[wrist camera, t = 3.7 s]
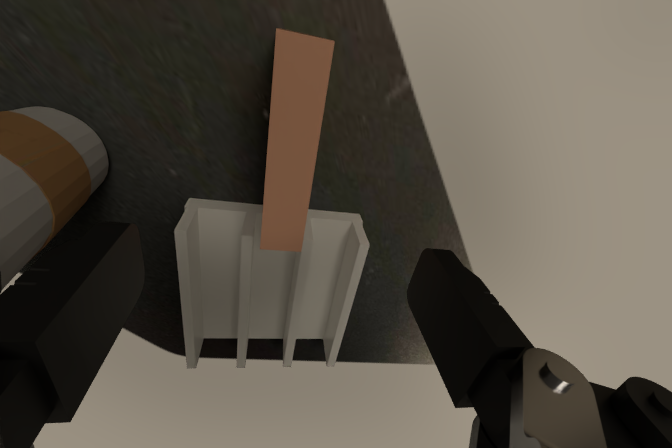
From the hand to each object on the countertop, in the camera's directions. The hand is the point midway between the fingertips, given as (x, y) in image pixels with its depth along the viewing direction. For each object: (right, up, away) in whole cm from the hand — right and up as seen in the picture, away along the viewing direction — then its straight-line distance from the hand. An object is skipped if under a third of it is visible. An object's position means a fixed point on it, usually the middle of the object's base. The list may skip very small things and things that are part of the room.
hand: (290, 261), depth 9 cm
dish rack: (-5, -4, +23) cm, 24 cm away
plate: (-2, +10, +15) cm, 18 cm away
